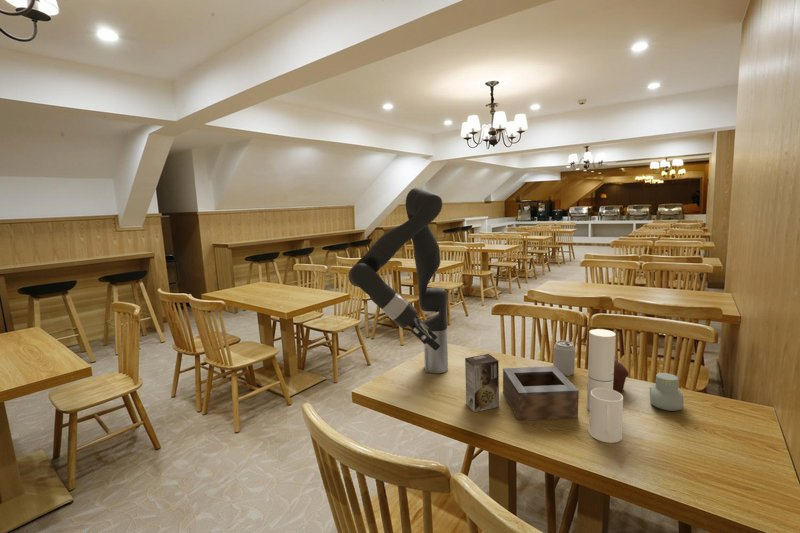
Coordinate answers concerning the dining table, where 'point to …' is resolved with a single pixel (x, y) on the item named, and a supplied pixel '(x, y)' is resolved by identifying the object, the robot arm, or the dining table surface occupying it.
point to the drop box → (540, 393)
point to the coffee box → (482, 382)
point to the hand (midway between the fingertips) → (436, 343)
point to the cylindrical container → (600, 360)
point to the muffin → (619, 376)
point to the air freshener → (666, 393)
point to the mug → (606, 415)
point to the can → (564, 357)
